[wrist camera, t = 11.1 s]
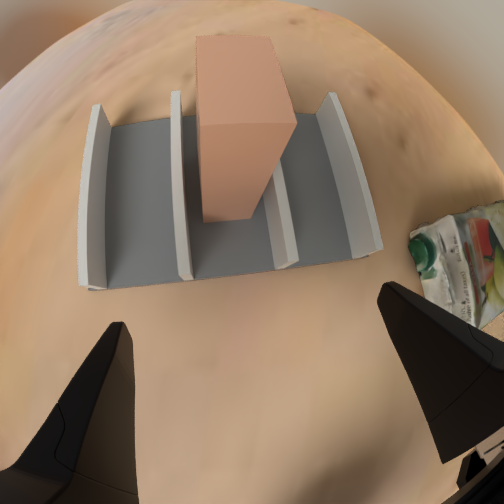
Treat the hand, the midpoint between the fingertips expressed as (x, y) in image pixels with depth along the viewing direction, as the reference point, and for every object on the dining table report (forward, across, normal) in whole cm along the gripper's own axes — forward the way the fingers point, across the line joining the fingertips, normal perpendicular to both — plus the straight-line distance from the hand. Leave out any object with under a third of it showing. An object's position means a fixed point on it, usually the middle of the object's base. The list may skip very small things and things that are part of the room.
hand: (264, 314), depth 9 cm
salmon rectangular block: (+11, 0, 0) cm, 11 cm away
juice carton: (+7, -24, +6) cm, 26 cm away
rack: (+12, 0, 0) cm, 12 cm away
